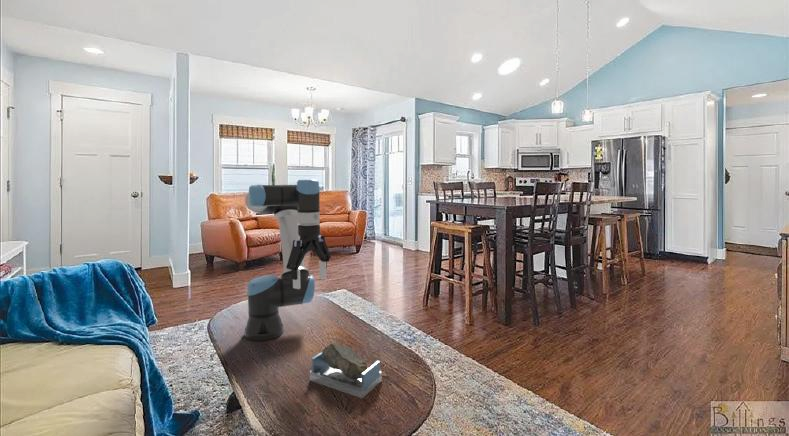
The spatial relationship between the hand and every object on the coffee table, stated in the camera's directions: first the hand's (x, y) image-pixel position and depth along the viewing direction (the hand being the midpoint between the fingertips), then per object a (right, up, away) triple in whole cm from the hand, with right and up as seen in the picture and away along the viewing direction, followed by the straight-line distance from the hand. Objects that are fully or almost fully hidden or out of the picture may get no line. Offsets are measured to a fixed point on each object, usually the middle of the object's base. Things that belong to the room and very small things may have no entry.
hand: (310, 283), depth 136 cm
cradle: (+14, -29, -14) cm, 35 cm away
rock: (+13, -25, -14) cm, 31 cm away
